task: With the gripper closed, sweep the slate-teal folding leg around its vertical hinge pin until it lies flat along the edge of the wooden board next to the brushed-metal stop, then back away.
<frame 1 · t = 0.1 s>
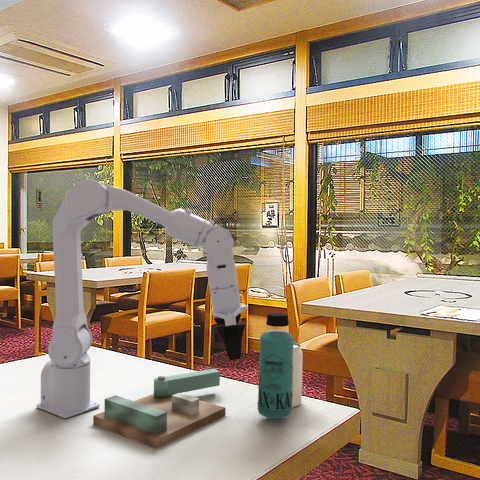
hand: (233, 354, 99), 10 cm above the table, tool pointing down, fingers open, 7 cm apart
wooden board: (161, 419, 92), on the table
folding leg: (186, 381, 103), point 4 cm above the table, hinge at 70.0°
can: (285, 404, 102), on the table
beverage bottle: (274, 421, 93), on the table
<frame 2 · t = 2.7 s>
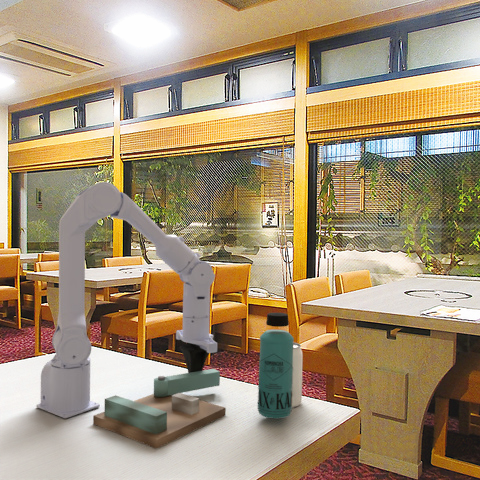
hand: (195, 378, 107), 3 cm above the table, tool pointing down, fingers closed
folding leg: (186, 381, 103), point 4 cm above the table, hinge at 70.0°, touching gripper
everything else where it was.
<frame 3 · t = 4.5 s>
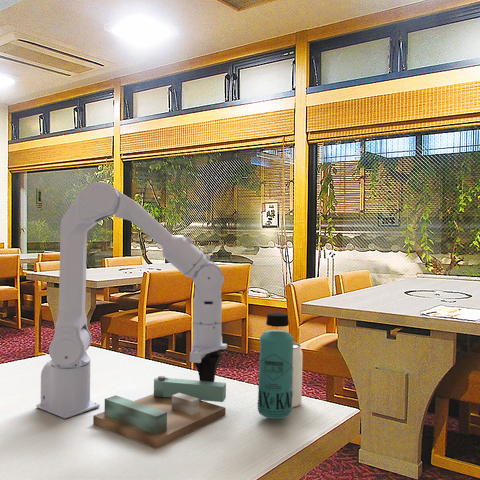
hand: (206, 389, 100), 3 cm above the table, tool pointing down, fingers closed, pressing on folding leg
folding leg: (188, 388, 99), point 4 cm above the table, hinge at 24.6°, touching gripper
everything else where it was.
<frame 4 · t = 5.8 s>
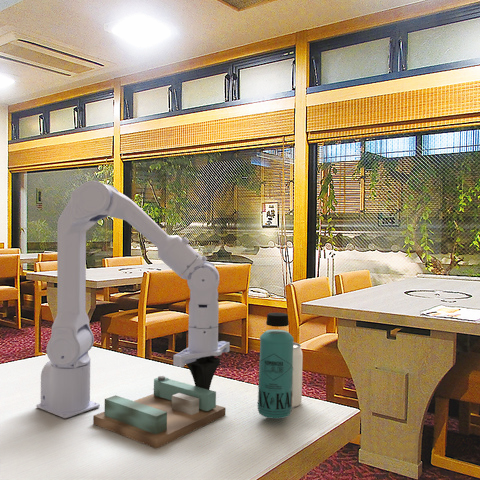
hand: (202, 395, 96), 3 cm above the table, tool pointing down, fingers closed
folding leg: (182, 391, 97), point 4 cm above the table, hinge at 0.0°, touching gripper
everything else where it was.
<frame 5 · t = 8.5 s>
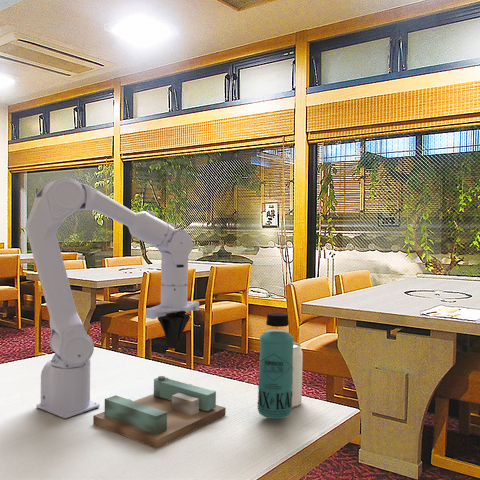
hand: (173, 347, 108), 9 cm above the table, tool pointing down, fingers closed
folding leg: (182, 391, 97), point 4 cm above the table, hinge at -0.1°
everything else where it was.
at the end: folding leg at +0° (first picture: +70°) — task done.
